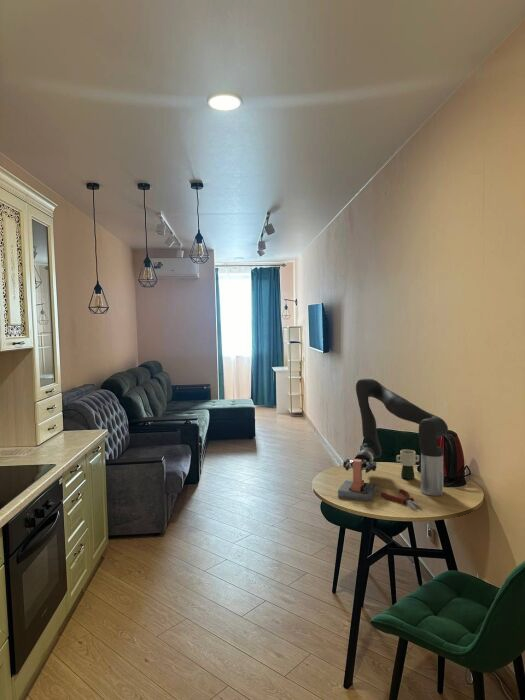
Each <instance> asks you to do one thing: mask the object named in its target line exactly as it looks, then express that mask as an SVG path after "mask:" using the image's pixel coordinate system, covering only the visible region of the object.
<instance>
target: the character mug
mask: <svg viewBox="0 0 525 700" xmlns="http://www.w3.org/2000/svg"><path fill="white" fill-rule="evenodd" d="M395 459H396V462H397V463H398V462H399V463H400V464H401V465H402V466H401V475H400V476H401V478H404V479H410V480H411V479H414V478H415V469H414V466H415V465H416V463H419V462H420V454H419V455H418V454H417V453H416V451H415V450H414V449H413V450H412V449H401V450H400V454H397V455H396V458H395Z"/></svg>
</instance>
